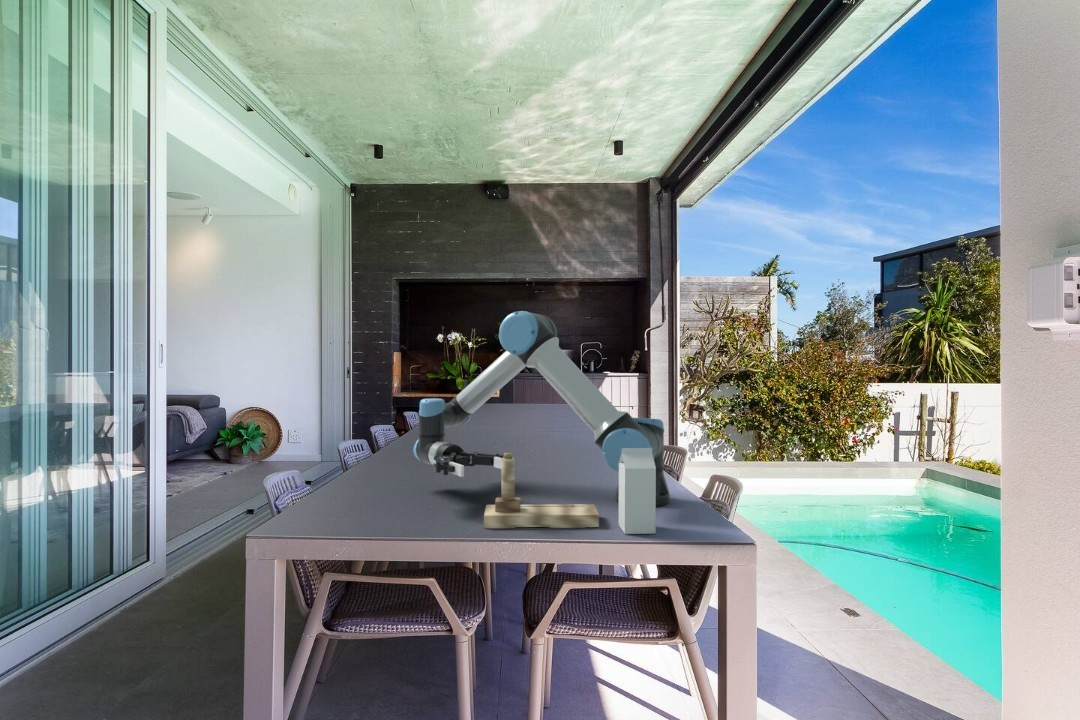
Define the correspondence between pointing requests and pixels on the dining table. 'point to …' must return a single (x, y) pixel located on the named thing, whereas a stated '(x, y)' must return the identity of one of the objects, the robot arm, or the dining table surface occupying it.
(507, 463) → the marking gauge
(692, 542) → the dining table surface
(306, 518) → the dining table surface
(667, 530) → the dining table surface
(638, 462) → the milk carton
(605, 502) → the dining table surface
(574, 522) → the oak plank
